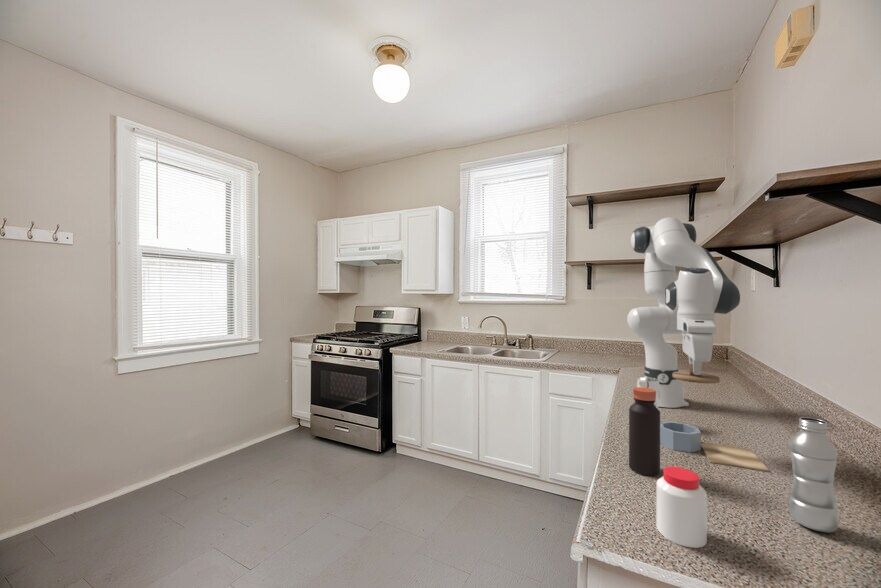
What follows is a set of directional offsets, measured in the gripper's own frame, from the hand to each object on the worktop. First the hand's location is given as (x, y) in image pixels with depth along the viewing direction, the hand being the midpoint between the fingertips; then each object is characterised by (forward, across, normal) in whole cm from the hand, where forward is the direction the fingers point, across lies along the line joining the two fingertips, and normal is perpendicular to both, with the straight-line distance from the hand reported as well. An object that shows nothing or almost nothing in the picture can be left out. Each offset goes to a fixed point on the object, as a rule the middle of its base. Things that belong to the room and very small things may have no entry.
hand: (695, 373), depth 104 cm
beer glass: (+22, -18, -10) cm, 30 cm away
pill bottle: (+22, +46, -10) cm, 52 cm away
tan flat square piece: (+21, +2, +8) cm, 23 cm away
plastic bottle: (+22, +32, +13) cm, 41 cm away
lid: (+2, 0, 0) cm, 2 cm away
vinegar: (+22, +21, -14) cm, 33 cm away
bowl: (+21, -1, -4) cm, 22 cm away
